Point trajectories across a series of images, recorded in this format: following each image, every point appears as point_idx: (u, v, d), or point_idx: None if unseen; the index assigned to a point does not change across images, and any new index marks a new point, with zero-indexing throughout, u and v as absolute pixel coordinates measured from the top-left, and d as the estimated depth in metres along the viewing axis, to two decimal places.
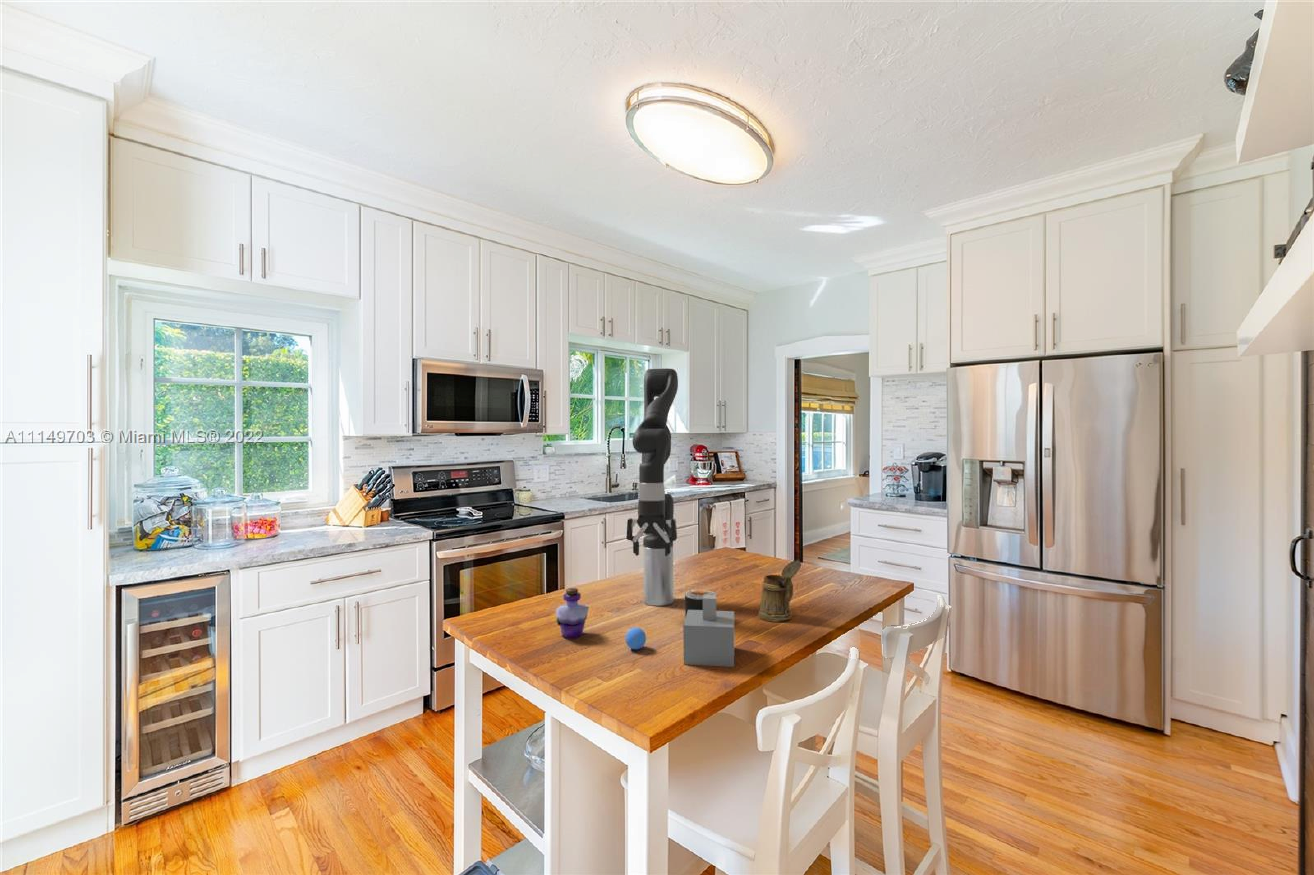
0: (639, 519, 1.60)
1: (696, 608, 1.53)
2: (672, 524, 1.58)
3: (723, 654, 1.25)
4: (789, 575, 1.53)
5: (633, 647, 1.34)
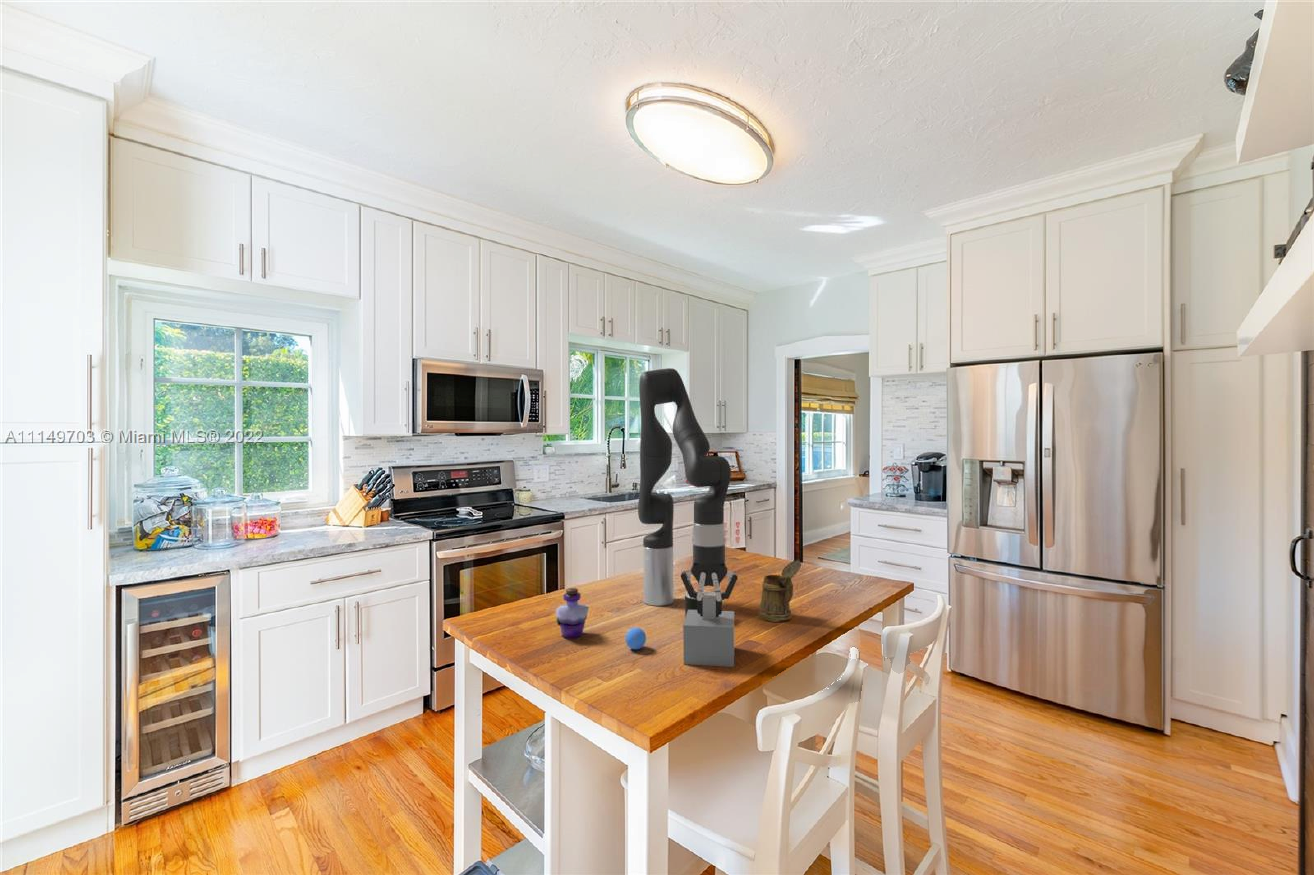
0: (693, 568, 1.31)
1: (696, 608, 1.53)
2: (733, 580, 1.29)
3: (723, 654, 1.25)
4: (789, 575, 1.53)
5: (633, 647, 1.34)
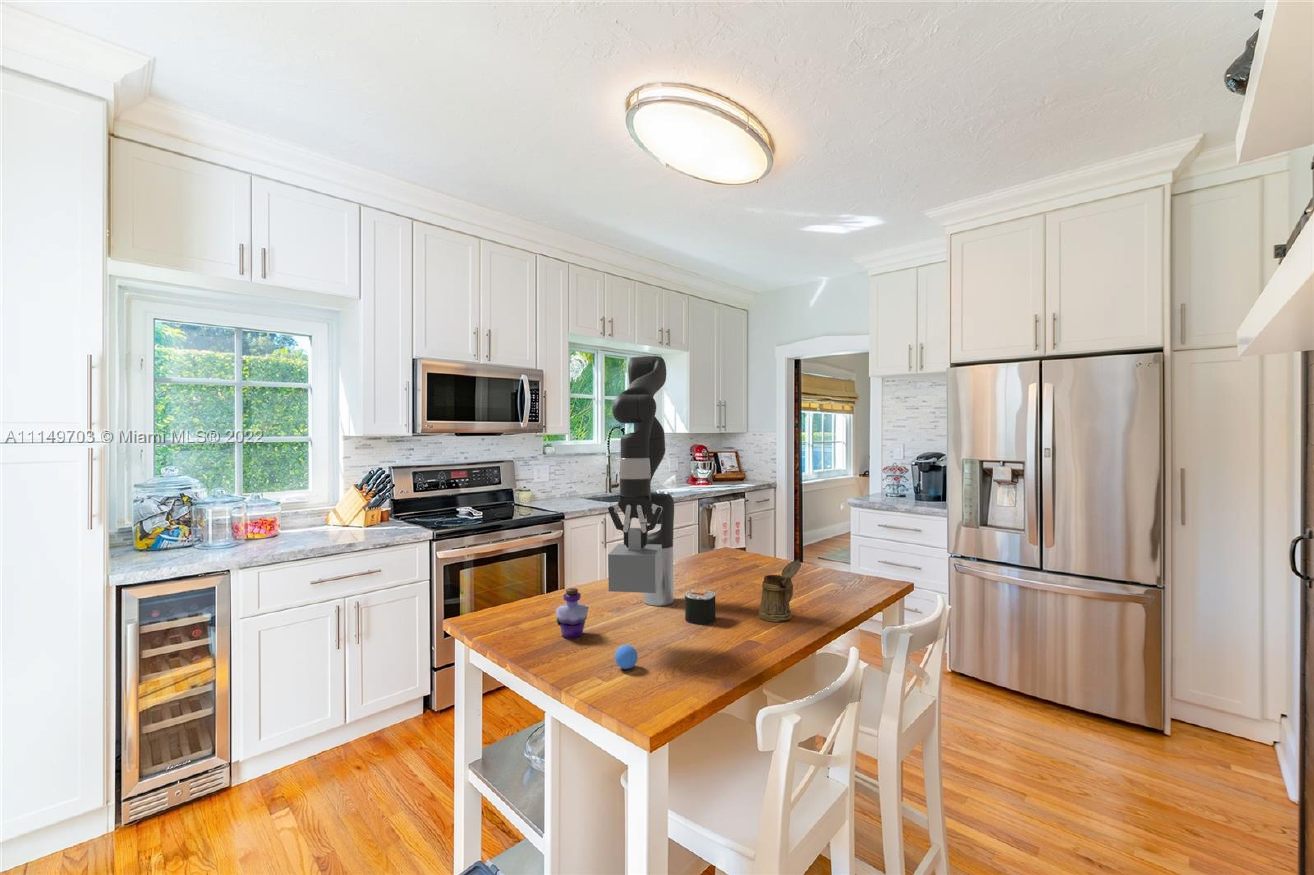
0: (619, 501, 1.36)
1: (696, 608, 1.53)
2: (657, 512, 1.35)
3: (645, 581, 1.31)
4: (789, 575, 1.53)
5: (624, 648, 1.24)
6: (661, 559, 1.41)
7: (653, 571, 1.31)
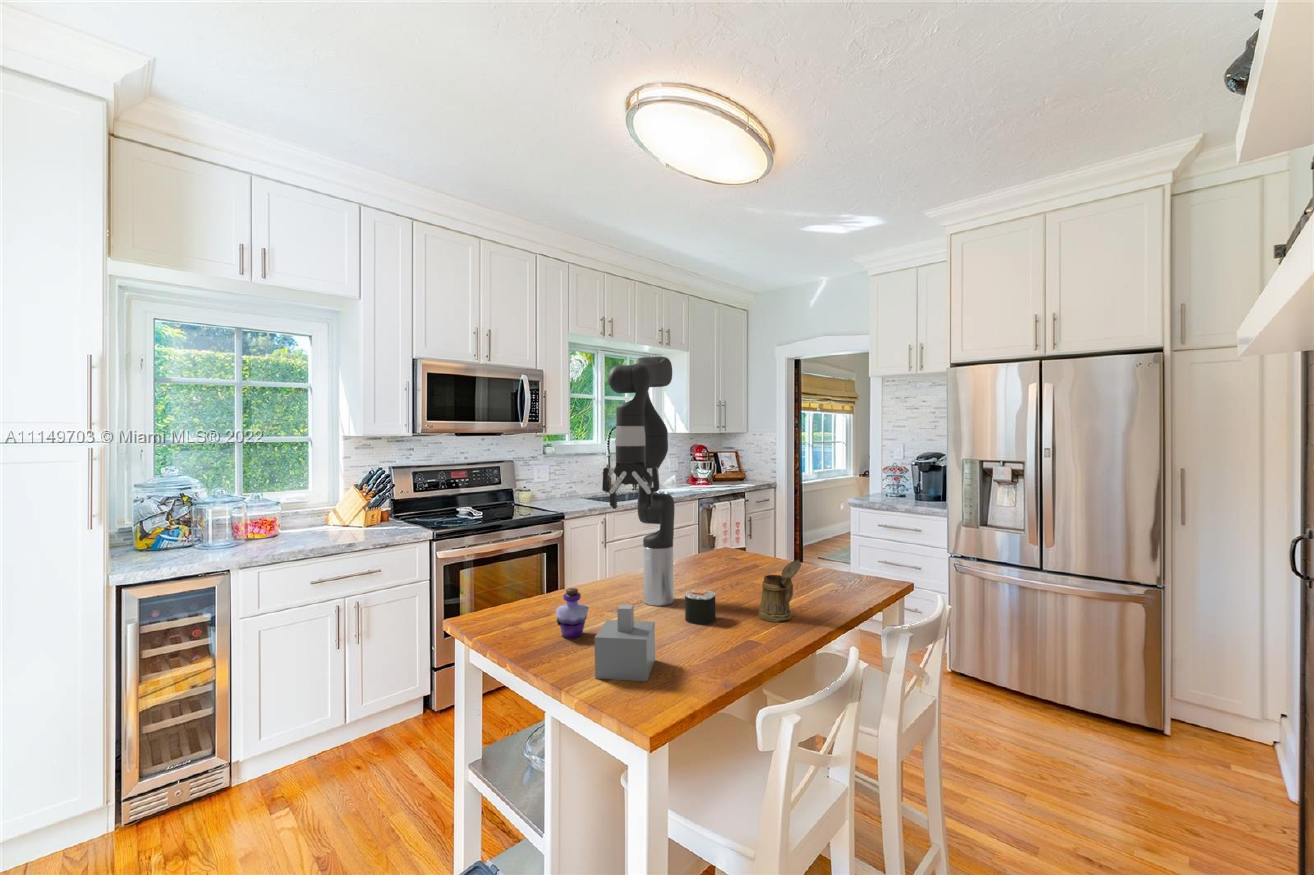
0: (616, 468, 1.41)
1: (696, 608, 1.53)
2: (654, 473, 1.40)
3: (636, 668, 1.18)
4: (789, 575, 1.53)
5: None
6: (654, 638, 1.28)
7: (644, 657, 1.18)
